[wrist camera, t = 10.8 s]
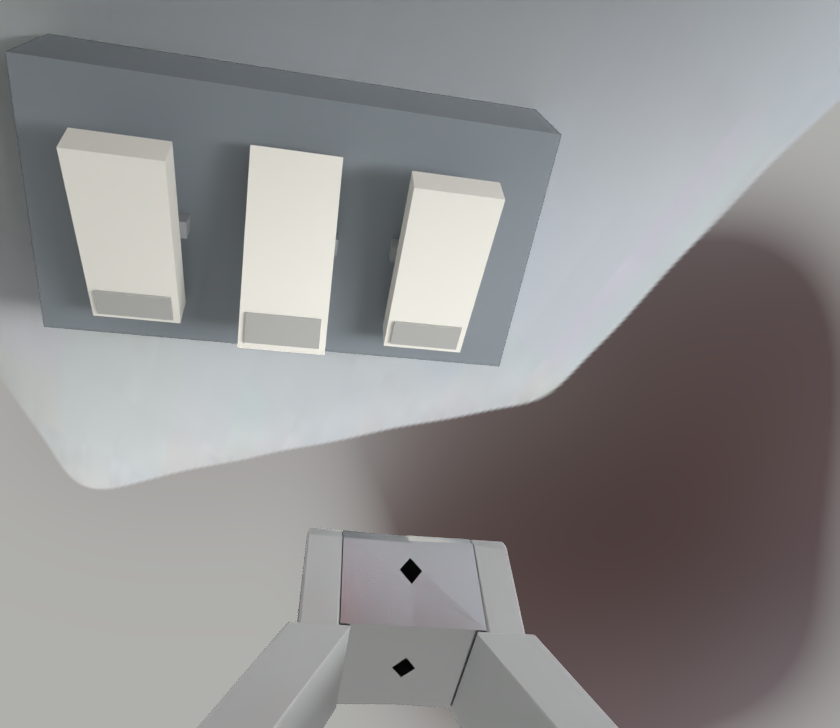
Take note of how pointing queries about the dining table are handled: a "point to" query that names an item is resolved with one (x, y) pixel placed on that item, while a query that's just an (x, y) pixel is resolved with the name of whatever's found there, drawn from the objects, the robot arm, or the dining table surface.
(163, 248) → the rocker
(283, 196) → the block
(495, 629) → the robot arm
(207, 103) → the console
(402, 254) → the rocker
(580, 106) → the dining table surface
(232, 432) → the dining table surface
